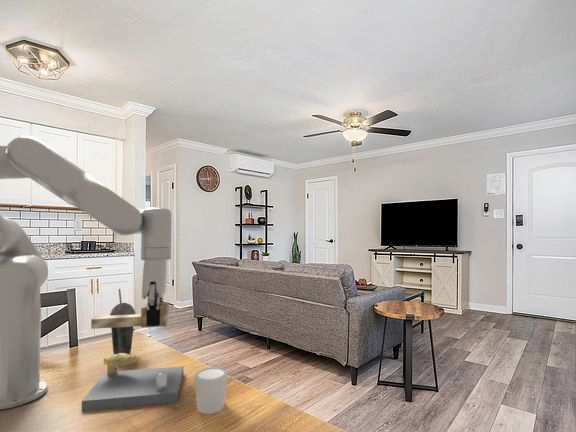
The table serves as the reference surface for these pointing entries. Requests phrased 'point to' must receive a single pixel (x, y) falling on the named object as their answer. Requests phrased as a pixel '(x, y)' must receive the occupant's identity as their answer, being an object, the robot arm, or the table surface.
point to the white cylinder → (210, 389)
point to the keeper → (117, 362)
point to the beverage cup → (122, 329)
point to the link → (130, 318)
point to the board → (133, 389)
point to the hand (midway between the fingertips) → (155, 321)
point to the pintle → (161, 381)
